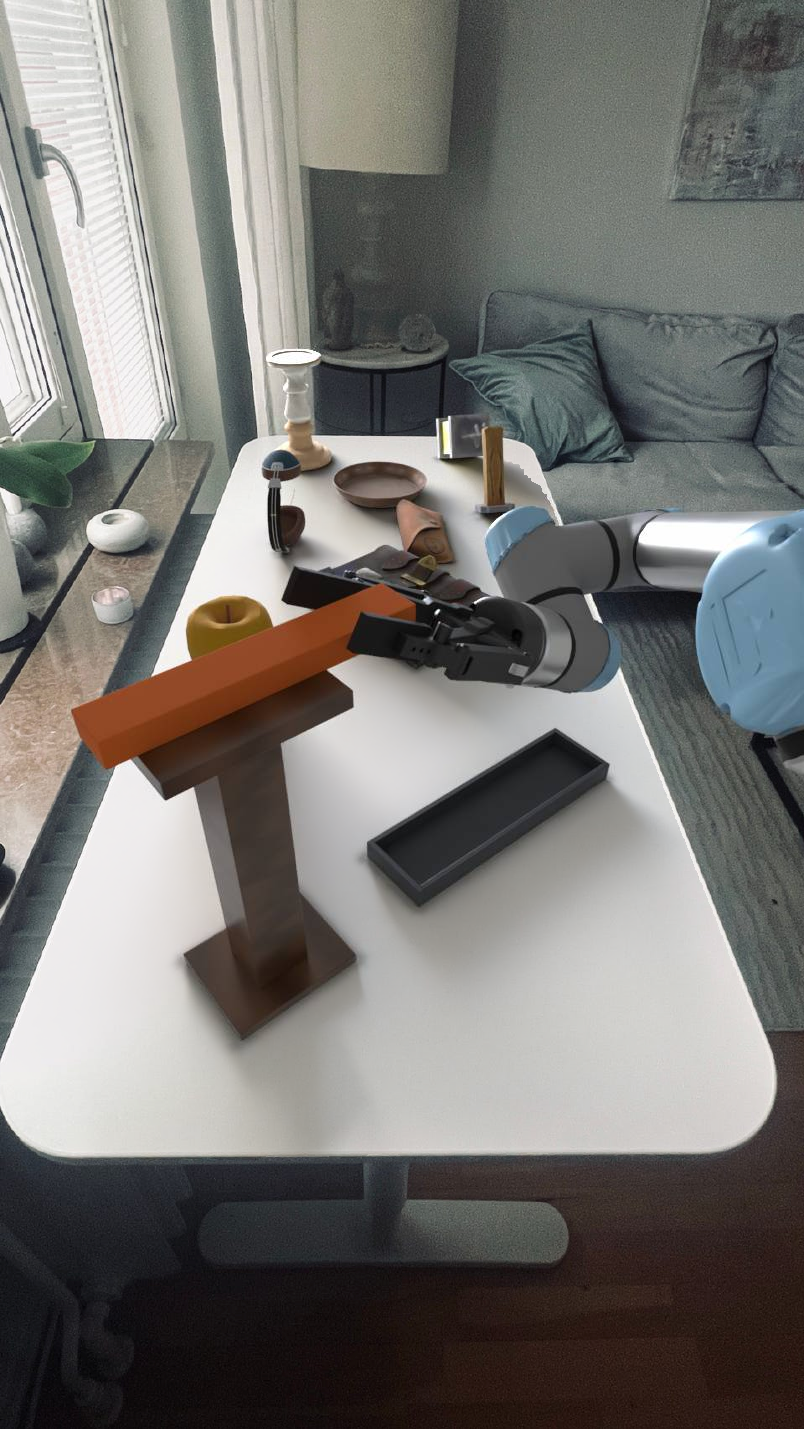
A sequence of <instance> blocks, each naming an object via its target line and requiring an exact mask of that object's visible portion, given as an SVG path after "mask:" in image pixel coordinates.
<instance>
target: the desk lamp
mask: <svg viewBox="0 0 804 1429" xmlns="http://www.w3.org/2000/svg"><path fill="white" fill-rule="evenodd" d="M490 423H491V417H490V412H487V413H472V414H456V415H448V416H447V417H438V418H437V417H436V418H435V427H436V445H437V446H436V448H437V459H448V458H449V459H459V458H473V457H474V458H475V457H482V468H483V470H482V471H483V496H484V500H483V501H484V502H483V503H482V504H481V503H480V504H479V503H478V504H476V503H475V504H474V512H477V513H479V514H491V513H502V512H509V511H511V510H513V509H516V503H515V502H512V501H506V494H505V493H506V492H505V490H506V489H505V468H504V467H505V463H504V427H502V426H501V425H497V426H491V424H490Z"/></svg>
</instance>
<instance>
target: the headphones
mask: <svg viewBox="0 0 804 1429" xmlns="http://www.w3.org/2000/svg"><path fill="white" fill-rule="evenodd" d="M301 474H302V471H301V465H300V462H299V460H298V459H297V458H296V457H295V456H294V455H293V454H292V453H291V452H289V451H287V450H283V449H279V450H275V449H274V450H272V451H271V452H270V453H268V454H267V455H266V456H265V458H264V459H263V461H262V462H261V475H262V477H263V478H264V479H265V480H267V481H268V484H267V489H268V491H267V500H266V501H267V503H266V504H267V505H266V506H267V508H266V510H267V512H266V515H267V532H268V539H269V544H270V548H271V549H272V551H273V552H275V553H279V554H281V553H282V554H285V553H290V548H289V547H288V546H290V545H293V544H294V543H296V542H297V541H298V540H299V539H300V537H301V536H302V535H303V533H304V531H305V528H306V515H305V514H306V513H305V512H304V510H303V509H302V508H301V507H299V506H296V505H292V503H293V499H294V496H295V494H293V496H292V499H291V502H290V504H283V505H282V497H281V496H282V494H281V490H282V482H283V483H284V482H288V481H291V480H295V479H296V478H298V477H300V475H301ZM293 492H295V488H294V489H293Z"/></svg>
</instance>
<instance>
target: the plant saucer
mask: <svg viewBox="0 0 804 1429" xmlns="http://www.w3.org/2000/svg"><path fill="white" fill-rule="evenodd" d="M427 482H428V479H427V477H426V475H425V474H424V472H422V471H421V470H420V469H418V468H416V467H414V466H412V465H408V464H405V463H400V462H393V461H379V460H378V461H377V460H376V461H366V462H359V463H354V464H350V465H347V466H345V467H343V468H340V469H339V470H337V471H336V472H335V473H334V475H333V476H332V484H333V485H334V487H335V489H336V490H337V491H338V492H339V493H340V495H341V496H342V497H343V498H345V500H347V501H349V502H350V503H352V504H354V505H358V506H362V507H366V508H374V509H376V508H377V509H381V508H382V509H384V508H385V509H386V508H394V507H397V505H398V503H399V502H400V501H401V500H407V501H410V502H412V501H413V500H414V499H415V498H417V497H418V495H420V493H421V492H422V491H423V489H424V488H425V487H426V485H427Z"/></svg>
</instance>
